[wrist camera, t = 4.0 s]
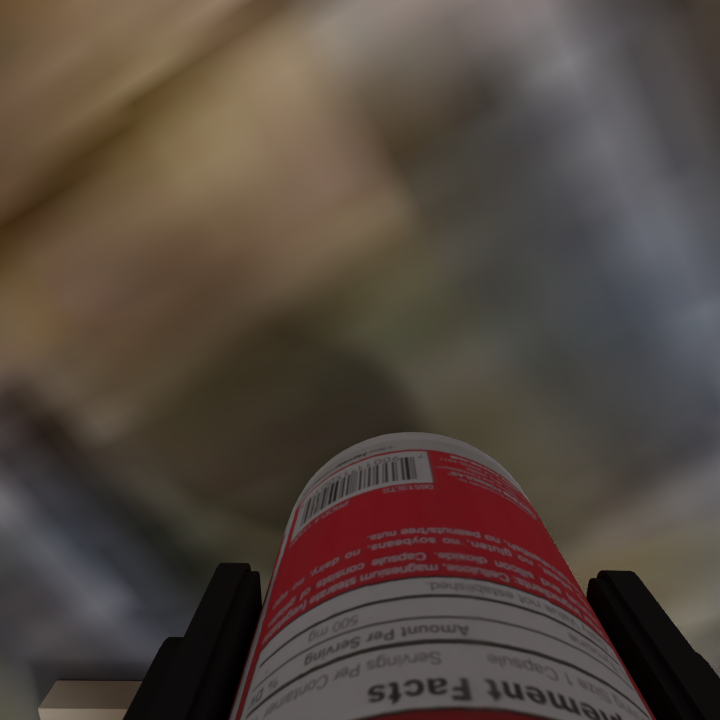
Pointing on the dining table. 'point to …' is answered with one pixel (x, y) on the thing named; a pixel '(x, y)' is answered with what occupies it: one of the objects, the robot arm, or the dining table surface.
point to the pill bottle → (426, 600)
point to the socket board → (88, 700)
